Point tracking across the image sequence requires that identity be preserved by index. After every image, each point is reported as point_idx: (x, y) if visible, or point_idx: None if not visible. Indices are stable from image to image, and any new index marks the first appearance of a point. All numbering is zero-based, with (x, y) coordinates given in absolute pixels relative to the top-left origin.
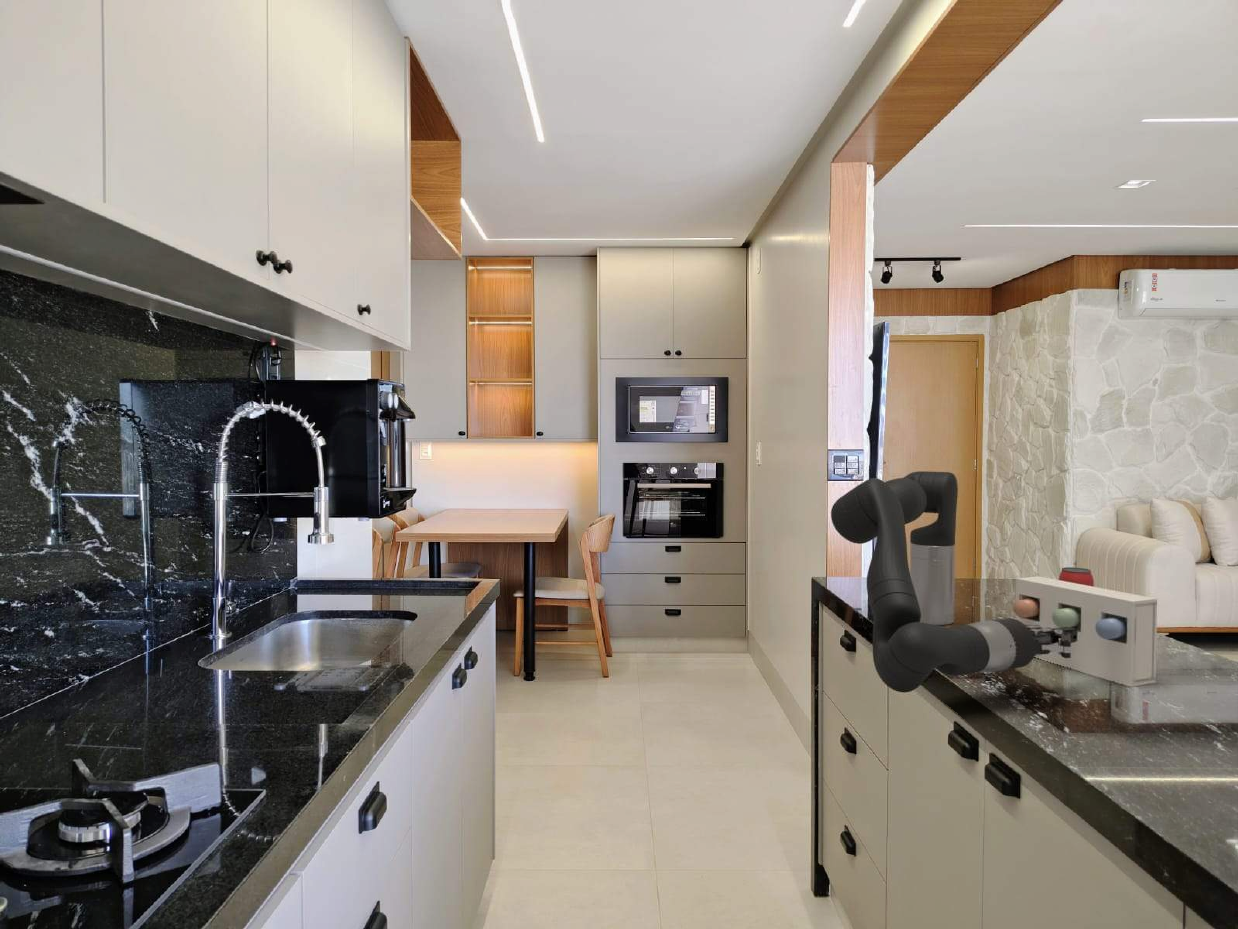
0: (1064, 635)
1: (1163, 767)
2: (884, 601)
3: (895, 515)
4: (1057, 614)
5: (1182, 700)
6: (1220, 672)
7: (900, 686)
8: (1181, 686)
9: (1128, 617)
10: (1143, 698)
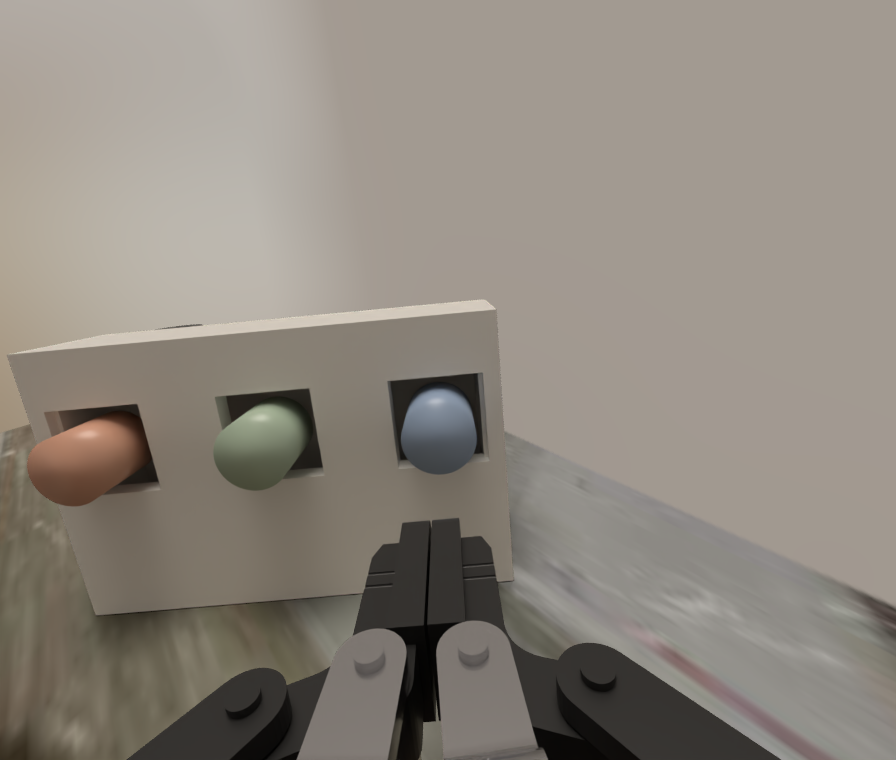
0: (679, 753)
1: None
2: None
3: None
4: (235, 444)
5: (640, 554)
6: None
7: None
8: (535, 497)
9: (487, 370)
10: (620, 625)
